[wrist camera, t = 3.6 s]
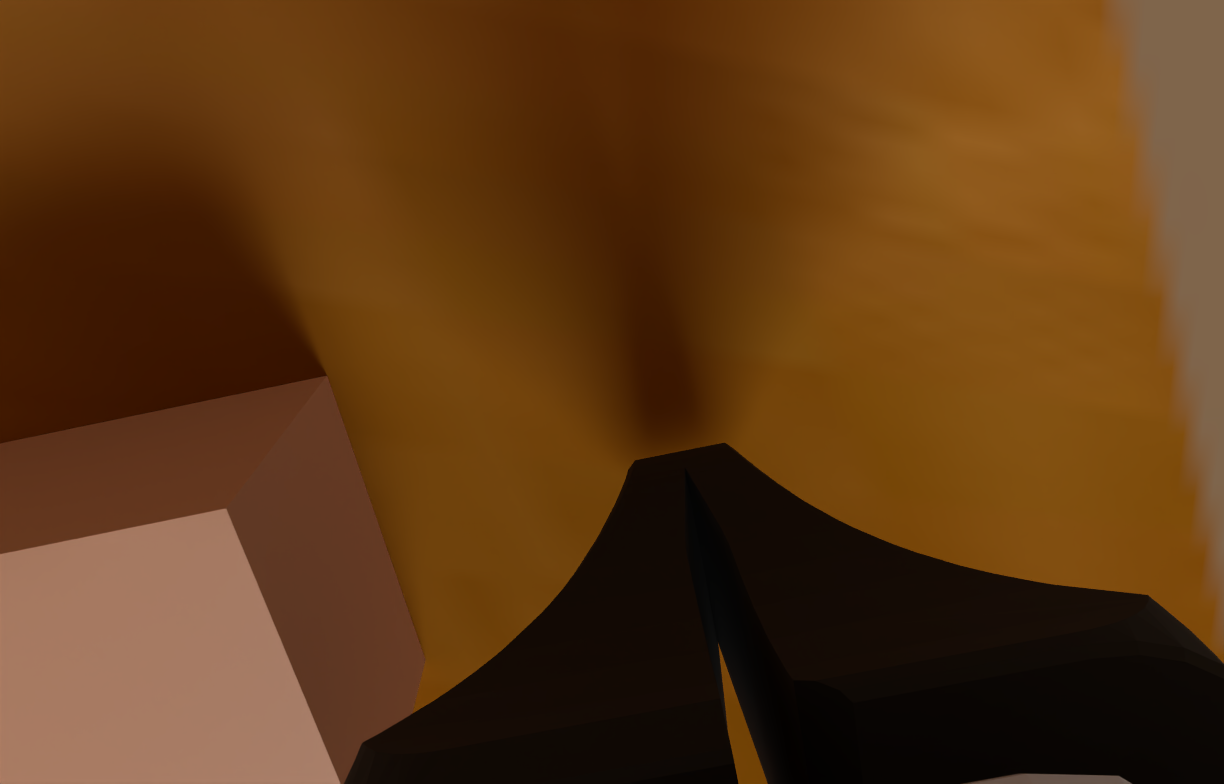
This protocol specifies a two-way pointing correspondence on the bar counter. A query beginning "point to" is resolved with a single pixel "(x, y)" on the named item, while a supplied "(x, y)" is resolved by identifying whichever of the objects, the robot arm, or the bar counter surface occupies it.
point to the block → (197, 599)
